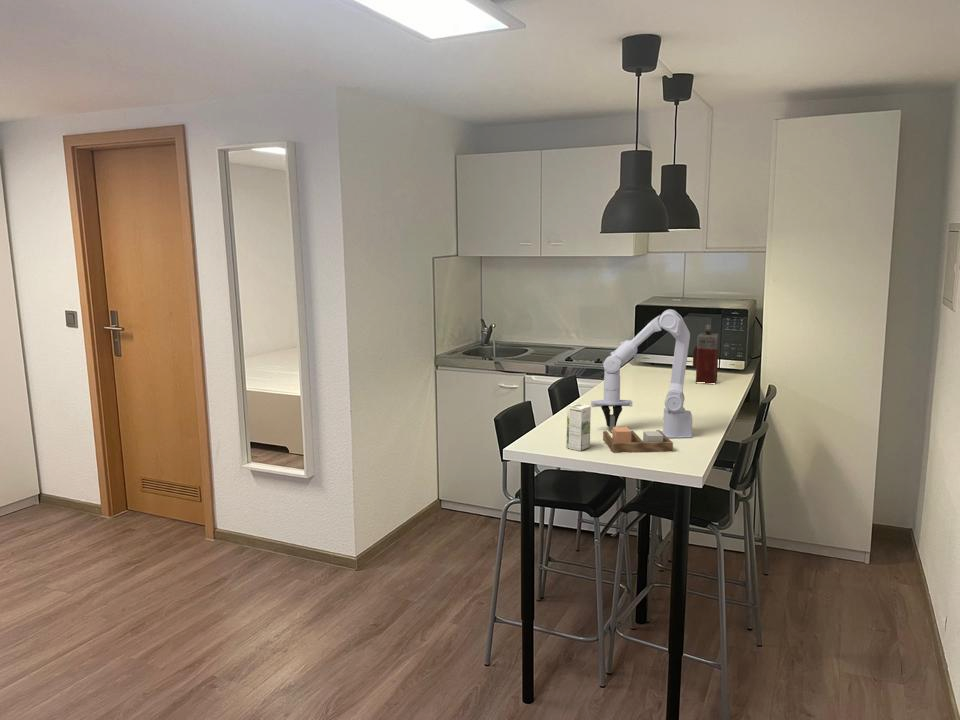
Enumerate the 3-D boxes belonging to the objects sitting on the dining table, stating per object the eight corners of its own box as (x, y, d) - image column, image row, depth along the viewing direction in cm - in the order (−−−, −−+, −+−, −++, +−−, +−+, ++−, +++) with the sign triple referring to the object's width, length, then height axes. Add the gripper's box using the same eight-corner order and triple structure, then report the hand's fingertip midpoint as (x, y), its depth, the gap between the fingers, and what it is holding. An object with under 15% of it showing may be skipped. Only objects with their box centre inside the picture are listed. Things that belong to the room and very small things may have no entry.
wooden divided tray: (659, 438, 253) (659, 430, 253) (672, 451, 237) (672, 442, 237) (603, 439, 253) (603, 431, 252) (612, 452, 237) (612, 443, 236)
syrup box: (575, 445, 247) (575, 402, 244) (590, 447, 243) (591, 405, 241) (566, 448, 242) (566, 406, 240) (581, 451, 238) (581, 408, 236)
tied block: (617, 430, 265) (617, 414, 264) (630, 445, 245) (631, 428, 244) (603, 430, 265) (604, 414, 264) (616, 446, 244) (616, 428, 243)
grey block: (657, 445, 245) (658, 431, 244) (662, 450, 239) (663, 435, 239) (643, 445, 245) (643, 431, 244) (647, 450, 239) (647, 436, 238)
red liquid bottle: (693, 379, 360) (695, 323, 355) (717, 381, 355) (719, 324, 351) (690, 383, 351) (692, 325, 347) (715, 384, 347) (717, 326, 343)
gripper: (629, 386, 266) (628, 422, 268) (589, 387, 265) (589, 423, 267) (634, 390, 259) (633, 427, 261) (593, 391, 258) (592, 428, 260)
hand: (611, 426), depth 264 cm, fingers closed on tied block
